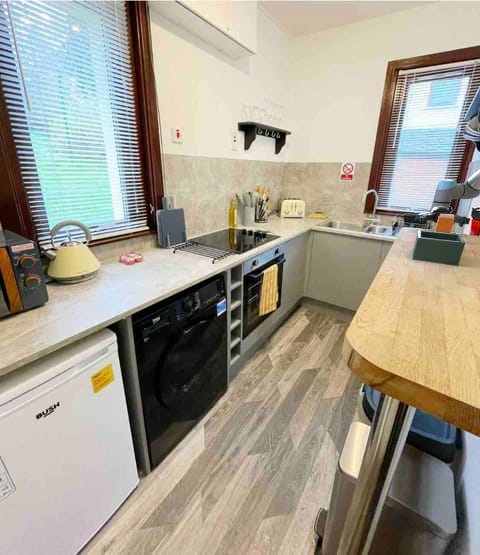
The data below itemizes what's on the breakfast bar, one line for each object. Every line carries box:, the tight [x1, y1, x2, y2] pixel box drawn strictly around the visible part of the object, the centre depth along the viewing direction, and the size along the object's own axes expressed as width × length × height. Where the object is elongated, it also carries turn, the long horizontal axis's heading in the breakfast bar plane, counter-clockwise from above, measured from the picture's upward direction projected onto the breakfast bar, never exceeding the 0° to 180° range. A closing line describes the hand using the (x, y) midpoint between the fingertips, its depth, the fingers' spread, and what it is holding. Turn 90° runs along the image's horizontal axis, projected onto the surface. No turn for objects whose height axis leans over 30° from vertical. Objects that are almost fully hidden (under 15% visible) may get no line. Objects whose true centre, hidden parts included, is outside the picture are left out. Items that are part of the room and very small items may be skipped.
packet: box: [434, 213, 455, 233], centre depth 112 cm, size 5×4×11 cm
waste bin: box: [412, 229, 466, 267], centre depth 94 cm, size 13×13×8 cm
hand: (442, 222), depth 118 cm, fingers open, 13 cm apart
